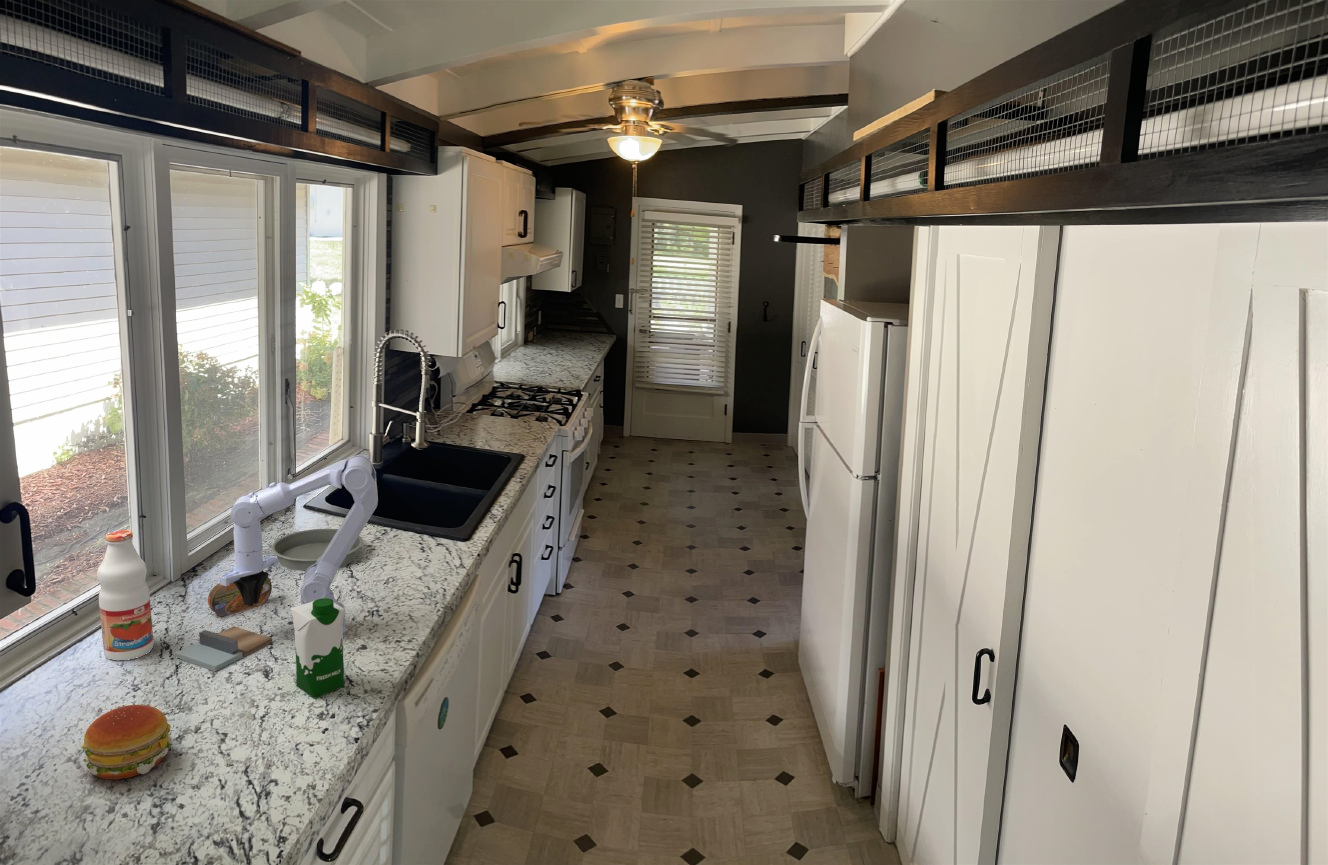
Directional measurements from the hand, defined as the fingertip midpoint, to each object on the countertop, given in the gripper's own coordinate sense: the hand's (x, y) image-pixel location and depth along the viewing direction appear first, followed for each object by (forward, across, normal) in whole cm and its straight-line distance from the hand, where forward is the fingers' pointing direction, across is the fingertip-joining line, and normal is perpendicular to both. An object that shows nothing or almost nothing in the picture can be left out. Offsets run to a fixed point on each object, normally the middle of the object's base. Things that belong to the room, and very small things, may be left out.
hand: (251, 603), depth 197 cm
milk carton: (+9, +9, +29) cm, 32 cm away
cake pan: (+9, -44, -23) cm, 50 cm away
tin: (+9, -9, -14) cm, 19 cm away
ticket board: (+8, +4, 0) cm, 9 cm away
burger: (+9, +44, +19) cm, 49 cm away
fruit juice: (+9, +18, -17) cm, 26 cm away
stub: (+8, +12, 0) cm, 14 cm away
